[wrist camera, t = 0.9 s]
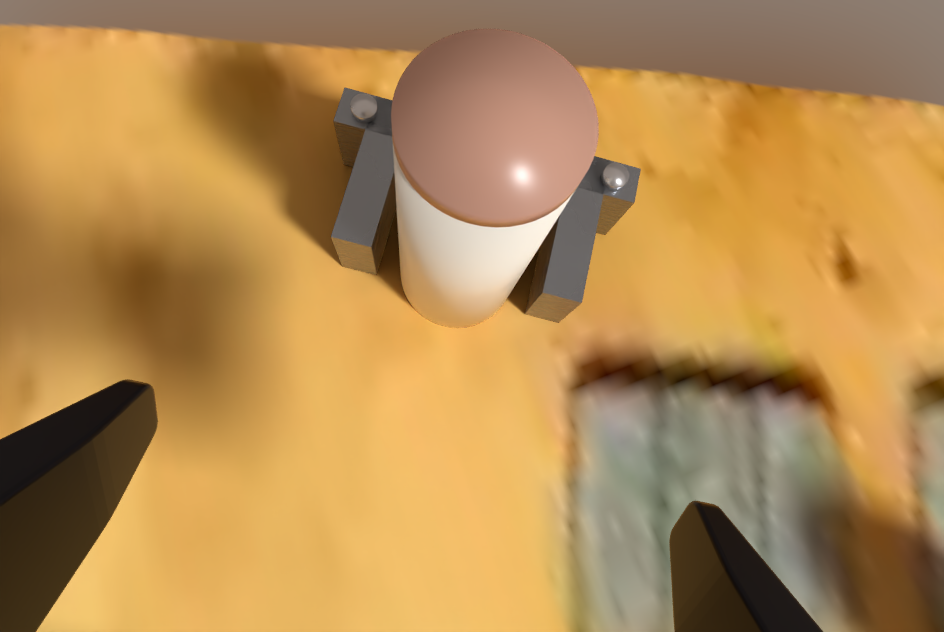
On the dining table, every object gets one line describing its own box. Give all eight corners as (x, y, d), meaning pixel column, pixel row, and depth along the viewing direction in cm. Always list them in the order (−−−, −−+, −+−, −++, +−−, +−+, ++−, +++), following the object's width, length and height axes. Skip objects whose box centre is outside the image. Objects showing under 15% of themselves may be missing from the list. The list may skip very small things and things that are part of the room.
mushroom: (498, 340, 24) (576, 241, 13) (387, 311, 24) (365, 184, 13) (522, 236, 26) (615, 60, 14) (416, 208, 25) (421, 5, 14)
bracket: (586, 329, 25) (617, 308, 21) (312, 258, 24) (295, 223, 21) (611, 205, 26) (644, 164, 23) (353, 135, 26) (343, 81, 22)
